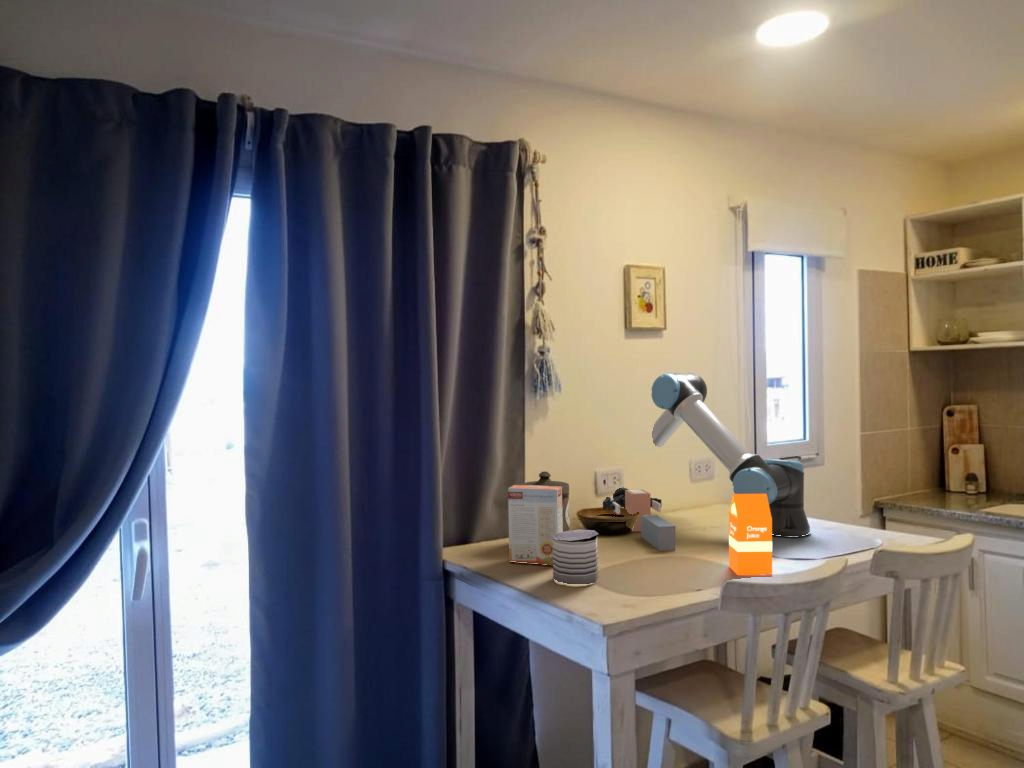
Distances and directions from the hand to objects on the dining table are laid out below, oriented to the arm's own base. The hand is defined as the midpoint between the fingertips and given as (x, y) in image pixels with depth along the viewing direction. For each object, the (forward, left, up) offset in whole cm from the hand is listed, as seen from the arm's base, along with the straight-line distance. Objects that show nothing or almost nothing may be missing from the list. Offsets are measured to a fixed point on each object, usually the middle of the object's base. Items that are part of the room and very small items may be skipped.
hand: (639, 509), depth 231 cm
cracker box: (-7, +49, -7) cm, 51 cm away
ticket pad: (-15, +9, -7) cm, 19 cm away
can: (-26, +52, -7) cm, 59 cm away
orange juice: (-49, +12, -7) cm, 51 cm away
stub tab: (+2, -1, -7) cm, 7 cm away
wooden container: (+7, +34, -7) cm, 36 cm away
